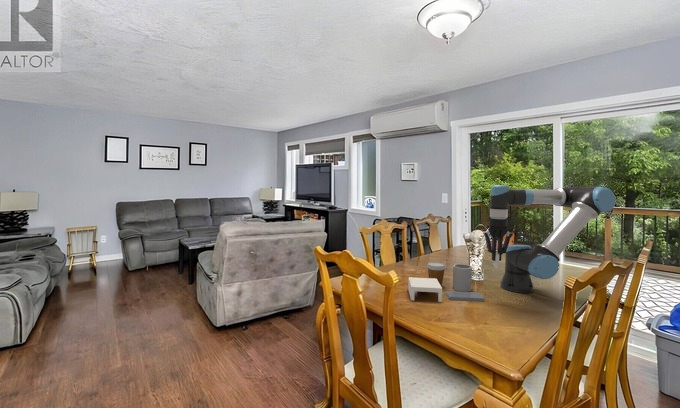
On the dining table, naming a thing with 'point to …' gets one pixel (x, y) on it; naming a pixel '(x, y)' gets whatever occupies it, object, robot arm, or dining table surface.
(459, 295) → the tile
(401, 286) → the dining table surface
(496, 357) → the dining table surface
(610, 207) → the robot arm
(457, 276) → the cup
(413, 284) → the shelf
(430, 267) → the disposable coffee cup
